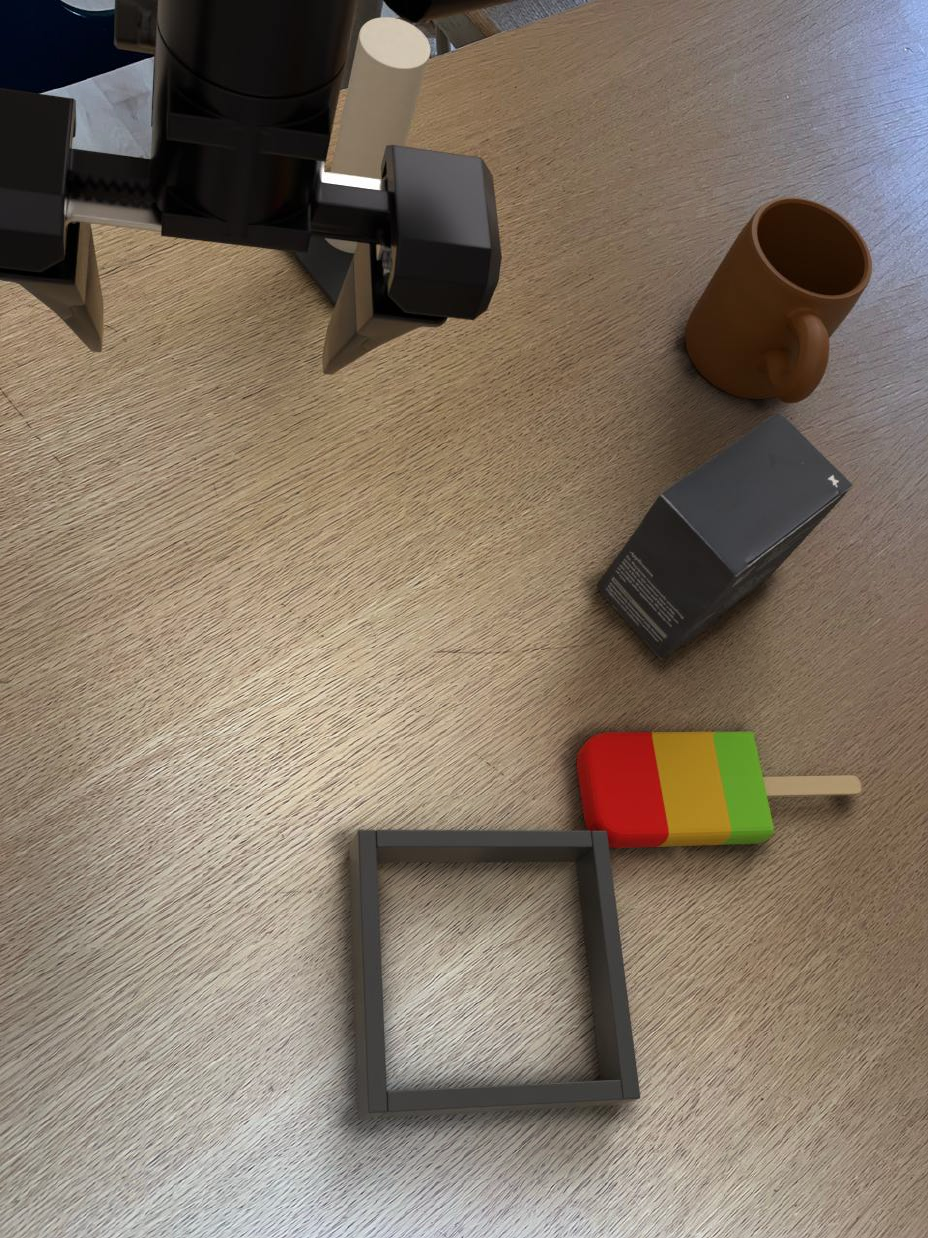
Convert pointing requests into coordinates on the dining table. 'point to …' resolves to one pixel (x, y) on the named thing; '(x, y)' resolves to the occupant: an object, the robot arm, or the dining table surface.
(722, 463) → the box
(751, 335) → the mug
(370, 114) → the white tall round cylinder
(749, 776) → the popsicle
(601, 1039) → the grey picture frame
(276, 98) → the robot arm
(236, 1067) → the dining table surface
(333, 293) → the rubber mat
